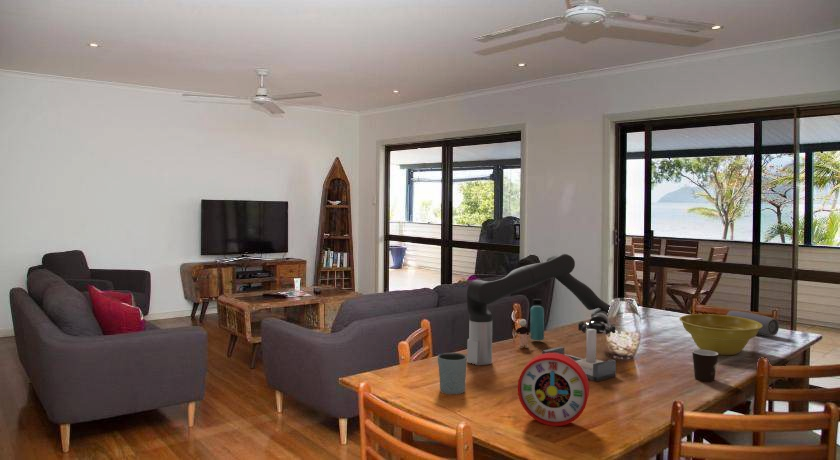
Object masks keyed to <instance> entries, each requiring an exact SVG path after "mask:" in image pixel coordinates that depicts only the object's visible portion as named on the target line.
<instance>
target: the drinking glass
mask: <svg viewBox="0 0 840 460" xmlns="http://www.w3.org/2000/svg"><path fill="white" fill-rule="evenodd" d="M437 364H438V374H439V375H438V376H439V390H440V393H442V392H443V393H442V394H445V393H446V394H445V395H452V394H456V395H461V393H462V394H464V393H466V378H467V377H466V376H467V375H466V373H467V364H468V362H467V355H466V354H464V353H460V352H444V353H440V354H438V355H437ZM463 392H464V393H463Z"/></svg>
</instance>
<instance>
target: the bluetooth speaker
mask: <svg viewBox="0 0 840 460" xmlns="http://www.w3.org/2000/svg"><path fill="white" fill-rule="evenodd" d="M726 315H727V316H735V317H741V318H746V319H750V320H754V321H757V322H759V323H761V324H762V325H763V327H762V328H760V329H759V331H758V333H757V335H756V336H762V335H765V336H775V335H777V334H778V332H779V330H780V329H779V328H780V325H779V322H778V320H777V319H776V318H774V317H772V316H771V317H770V316H766V315H762V314H758V313H757V314H756V313H752V312H746V311H740V310H729V311H728V312H727V314H726Z"/></svg>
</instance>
